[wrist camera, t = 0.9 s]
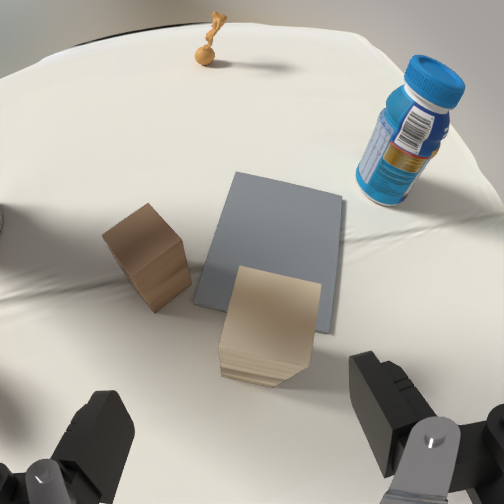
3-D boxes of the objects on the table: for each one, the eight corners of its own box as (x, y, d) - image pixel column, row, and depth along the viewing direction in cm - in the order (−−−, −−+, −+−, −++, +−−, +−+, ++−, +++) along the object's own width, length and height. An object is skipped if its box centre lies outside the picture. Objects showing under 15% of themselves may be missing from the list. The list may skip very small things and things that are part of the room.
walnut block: (128, 279, 33) (101, 235, 25) (163, 252, 35) (148, 202, 27) (154, 313, 31) (131, 276, 23) (191, 283, 33) (181, 239, 25)
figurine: (197, 55, 57) (196, 6, 47) (225, 55, 58) (228, 6, 47) (192, 73, 53) (191, 18, 43) (223, 73, 54) (226, 18, 43)
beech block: (272, 387, 29) (309, 365, 16) (221, 376, 29) (218, 346, 17) (282, 339, 31) (321, 284, 19) (233, 328, 31) (239, 265, 19)
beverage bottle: (342, 168, 43) (389, 46, 26) (384, 160, 45) (436, 53, 28) (373, 215, 40) (445, 92, 22) (415, 201, 42) (485, 96, 24)
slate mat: (327, 333, 32) (329, 332, 31) (193, 303, 32) (193, 301, 32) (340, 199, 40) (342, 196, 40) (235, 174, 41) (235, 171, 40)
